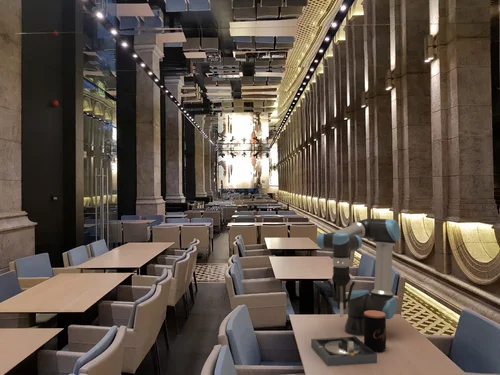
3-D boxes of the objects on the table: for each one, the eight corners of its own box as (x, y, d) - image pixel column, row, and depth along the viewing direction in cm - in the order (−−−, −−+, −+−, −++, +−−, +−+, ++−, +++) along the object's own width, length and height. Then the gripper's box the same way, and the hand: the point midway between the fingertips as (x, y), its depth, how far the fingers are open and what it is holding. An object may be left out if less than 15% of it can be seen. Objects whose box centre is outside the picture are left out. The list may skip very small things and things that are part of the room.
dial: (318, 345, 205) (318, 332, 205) (348, 341, 210) (348, 329, 210) (335, 358, 189) (335, 344, 189) (367, 354, 194) (367, 340, 194)
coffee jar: (374, 354, 200) (374, 317, 200) (359, 347, 209) (359, 311, 209) (390, 350, 205) (390, 314, 205) (375, 343, 214) (374, 309, 214)
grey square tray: (355, 343, 214) (355, 335, 214) (377, 362, 190) (376, 352, 190) (311, 346, 210) (311, 337, 210) (327, 366, 186) (327, 356, 186)
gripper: (326, 266, 191) (327, 317, 191) (355, 268, 187) (355, 319, 187) (327, 264, 198) (328, 312, 198) (355, 265, 195) (356, 314, 194)
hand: (341, 315), depth 193 cm, fingers closed
